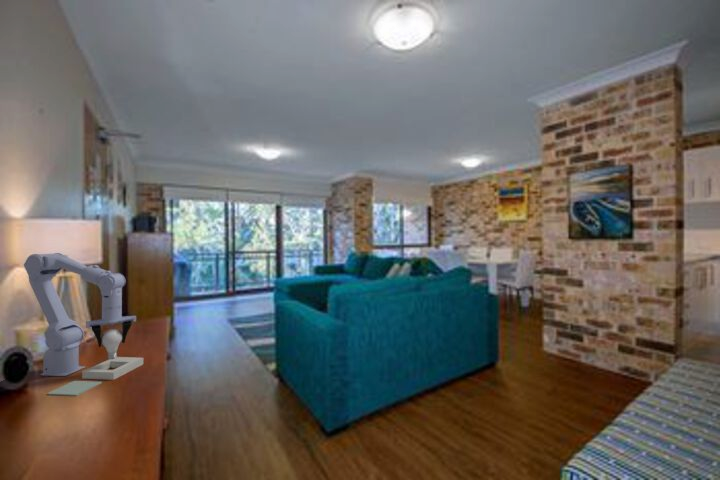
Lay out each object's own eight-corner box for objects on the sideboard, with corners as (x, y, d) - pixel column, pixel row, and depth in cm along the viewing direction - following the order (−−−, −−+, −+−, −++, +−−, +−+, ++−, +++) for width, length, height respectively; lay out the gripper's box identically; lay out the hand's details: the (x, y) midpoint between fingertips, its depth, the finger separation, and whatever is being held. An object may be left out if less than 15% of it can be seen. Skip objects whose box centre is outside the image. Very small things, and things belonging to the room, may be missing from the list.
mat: (46, 394, 101) (46, 393, 101) (74, 381, 110) (74, 380, 110) (76, 395, 100) (76, 394, 100) (101, 383, 109) (101, 381, 109)
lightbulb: (110, 363, 114) (109, 332, 114) (97, 361, 116) (95, 331, 115) (127, 356, 120) (126, 327, 120) (114, 354, 122) (113, 326, 121)
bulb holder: (82, 378, 112) (82, 371, 112) (115, 363, 126) (115, 356, 126) (113, 379, 112) (113, 372, 112) (143, 364, 126) (143, 357, 126)
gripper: (86, 311, 110) (85, 351, 110) (137, 306, 120) (137, 342, 120) (85, 308, 115) (85, 346, 115) (134, 303, 125) (134, 338, 125)
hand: (111, 344), depth 118 cm, fingers closed on lightbulb, 6 cm apart
